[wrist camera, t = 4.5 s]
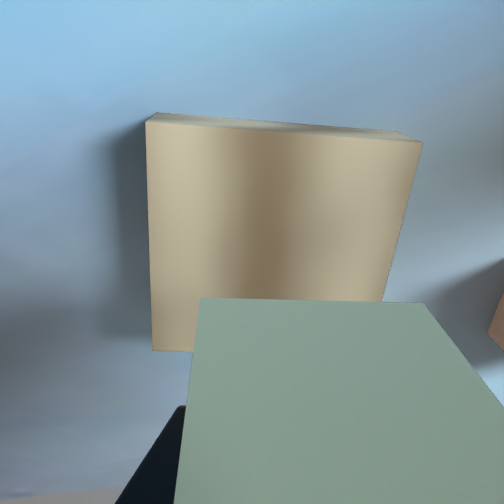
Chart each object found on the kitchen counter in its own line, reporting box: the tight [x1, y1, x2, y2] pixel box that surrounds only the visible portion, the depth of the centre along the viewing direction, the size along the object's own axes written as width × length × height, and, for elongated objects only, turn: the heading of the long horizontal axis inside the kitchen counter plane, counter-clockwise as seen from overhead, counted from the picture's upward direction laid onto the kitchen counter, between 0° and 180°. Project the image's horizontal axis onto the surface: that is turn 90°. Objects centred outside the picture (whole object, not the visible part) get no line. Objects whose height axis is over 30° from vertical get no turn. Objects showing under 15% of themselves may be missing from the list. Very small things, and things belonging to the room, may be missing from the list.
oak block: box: [145, 112, 423, 352], centre depth 18 cm, size 10×10×3 cm
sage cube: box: [174, 298, 504, 504], centre depth 8 cm, size 5×5×5 cm
